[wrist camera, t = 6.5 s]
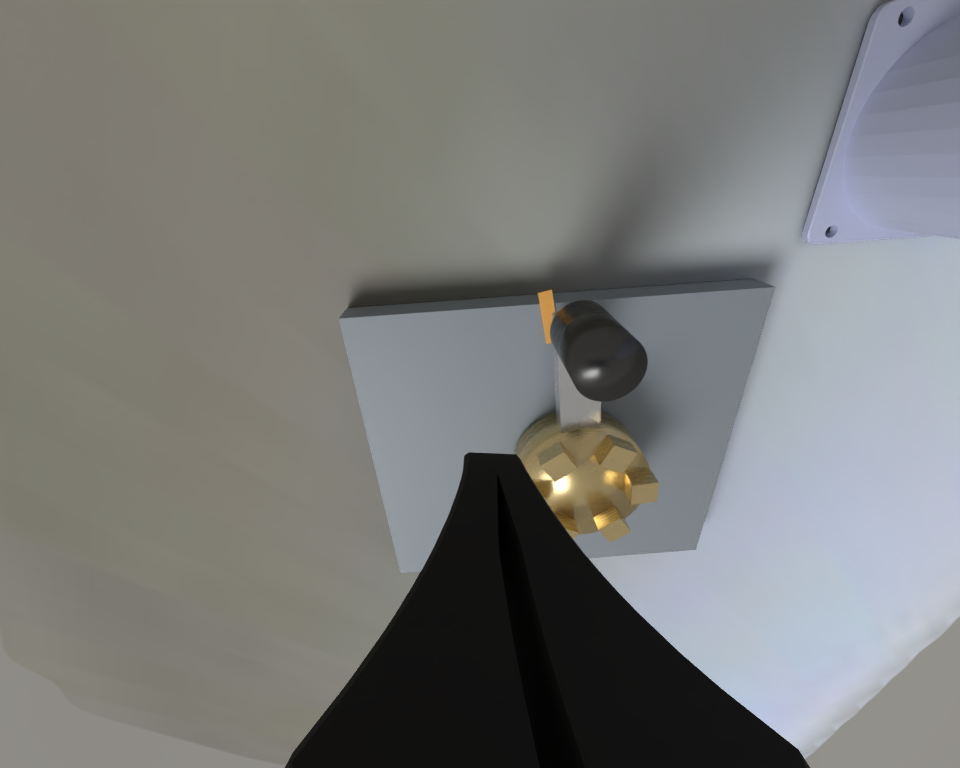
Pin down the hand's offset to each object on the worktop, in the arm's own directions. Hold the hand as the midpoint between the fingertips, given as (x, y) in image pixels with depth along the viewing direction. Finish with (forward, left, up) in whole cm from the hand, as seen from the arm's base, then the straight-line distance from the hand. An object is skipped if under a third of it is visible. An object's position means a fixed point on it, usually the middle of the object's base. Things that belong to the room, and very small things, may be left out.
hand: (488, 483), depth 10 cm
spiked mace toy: (-4, +4, -8) cm, 10 cm away
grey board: (-4, +7, -10) cm, 13 cm away
